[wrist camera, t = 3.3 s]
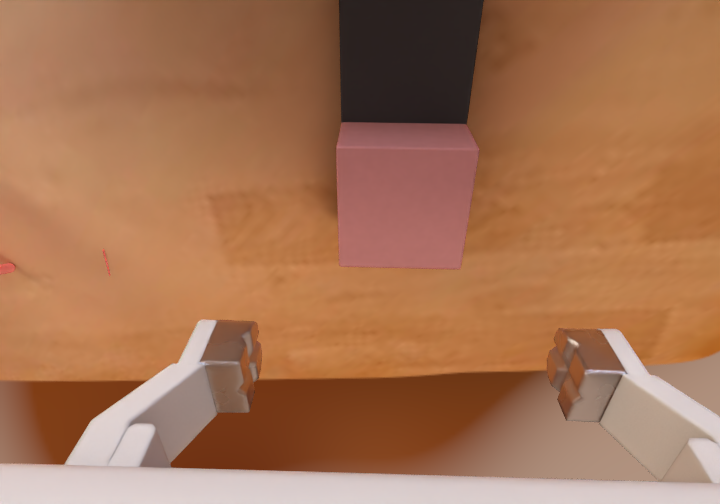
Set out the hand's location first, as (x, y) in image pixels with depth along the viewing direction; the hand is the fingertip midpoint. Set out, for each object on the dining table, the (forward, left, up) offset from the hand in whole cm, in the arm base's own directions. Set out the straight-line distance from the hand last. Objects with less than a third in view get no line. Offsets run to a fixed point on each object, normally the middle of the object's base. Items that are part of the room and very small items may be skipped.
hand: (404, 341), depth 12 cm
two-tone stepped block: (0, -3, -12) cm, 12 cm away
